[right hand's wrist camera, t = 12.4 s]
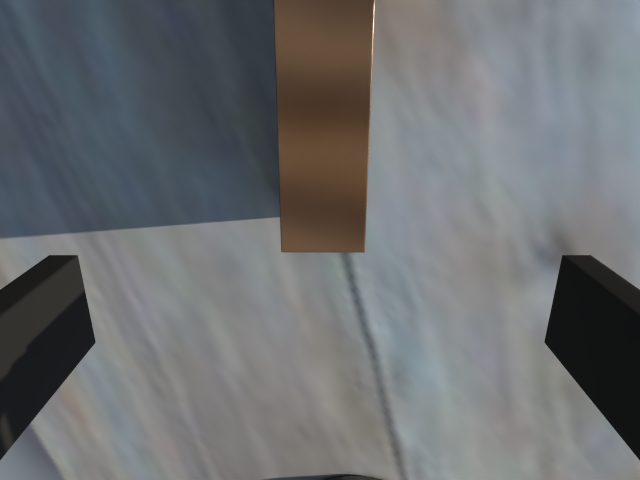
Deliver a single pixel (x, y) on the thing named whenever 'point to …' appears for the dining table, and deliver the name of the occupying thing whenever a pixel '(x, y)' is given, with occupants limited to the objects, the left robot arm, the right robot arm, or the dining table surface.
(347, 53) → the beam
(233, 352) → the dining table surface
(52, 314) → the right robot arm
